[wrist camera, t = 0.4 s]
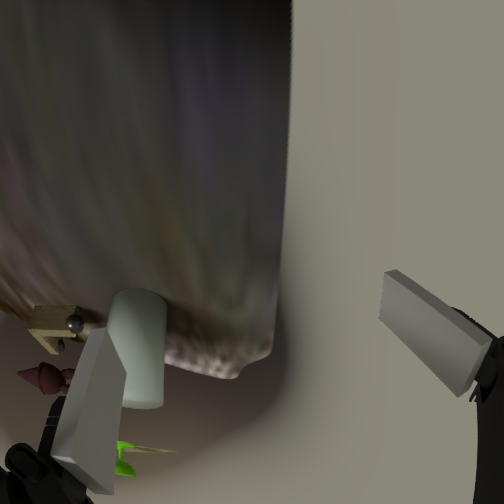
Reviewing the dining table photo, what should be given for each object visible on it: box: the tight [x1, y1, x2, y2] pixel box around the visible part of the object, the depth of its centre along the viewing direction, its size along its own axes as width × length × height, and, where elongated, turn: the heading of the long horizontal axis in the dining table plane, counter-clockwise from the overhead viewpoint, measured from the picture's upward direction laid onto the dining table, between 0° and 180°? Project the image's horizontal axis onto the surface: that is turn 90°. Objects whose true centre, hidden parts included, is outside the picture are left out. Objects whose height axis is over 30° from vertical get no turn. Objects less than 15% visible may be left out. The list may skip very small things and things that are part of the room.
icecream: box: [17, 362, 75, 395], centre depth 42 cm, size 7×7×15 cm
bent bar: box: [27, 305, 84, 354], centre depth 33 cm, size 9×10×4 cm
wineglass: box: [115, 441, 136, 477], centre depth 103 cm, size 16×16×18 cm
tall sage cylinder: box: [107, 288, 167, 409], centre depth 29 cm, size 7×7×12 cm
